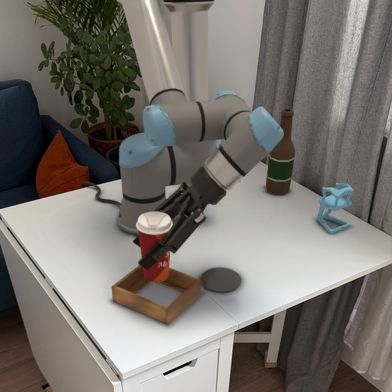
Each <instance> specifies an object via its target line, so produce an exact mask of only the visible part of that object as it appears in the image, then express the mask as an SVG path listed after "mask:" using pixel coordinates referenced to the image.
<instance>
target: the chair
mask: <svg viewBox="0 0 392 392" xmlns="http://www.w3.org/2000/svg"><path fill="white" fill-rule="evenodd" d="M341 187H342V188H341ZM339 188H340V189H339ZM354 191H355V190H354V189H353V188H352V187H351V185H350V184H348V183H345V182H344V183H343V182H342V183H338V182H336V183H335V187H334V186H333V187H332V186H331V187H323V186H322V197H321V198H318V203H319V209H318V212H317V216H316V221H317V222H318V223H319V224H320V225H321V226H322V227H323V228H324V229H325V230H326V231H327V233H329V234H331V235H333V234H335V233H337V232H340V231H342V230H346V229H347V228H350V227H351V223H350V222H349V221H346V220H344V219H340V218H337V217H334V216H332V215H330V214H331V212H332V211H333V212H338V211H340V210H342V209H345V208H349V207H351V206H352V204H353V202H352V201H350V199H351V197H352V195H353V194H354ZM326 192H328V193H330V194H331V195H328V196H327V193H326ZM346 195H347V197H346V199H345V198H344V197H345V196H346ZM324 211H325V212H324ZM324 219H325V220H327V221H331V222H334V223H337V224H340V226H337V227H335V228H331V227H330V226H329V225H328V223H327V222H326V221H325V220H324Z"/></svg>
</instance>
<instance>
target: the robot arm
mask: <svg viewBox="0 0 392 392" xmlns="http://www.w3.org/2000/svg"><path fill="white" fill-rule="evenodd" d="M162 1H163V5H164V6H165V7H166V8H167V9H168V11H169V12H170V28H171V29H170V30H171V32H170V33H171V38H170V35H169V31H168V28H167V25H166V21H165V18H164V14H163V10H162V7H161V4H160V0H116V3H117V4H118V6H119V7H120V8H121V9H122V10H123V12H124V15H125V19H126V23H127V27H128V30H129V35H130V38H131V42H132V46H133V50H134V52H135V57H136V60H137V65H138V67H139V70H140V75H141V78H142V83H143V86H144V89H145V93H146V96H147V100H148V104H149V105H147V106H145V108H143V112H142V126H143V132H141V133H140V132H139V133H136V134H132V135H130V136H128V137H127V138H125V139H124V140H123V141H122V142H121V143H120V145H119V150H118V158H119V159H118V165H119V168H120V181H121V192H122V199H121V202H120V201H117V200H114V199H110V198H103V197H100V196H99V195H100V194H101V192H102V188H101V187H100V186H99V185H97V184H95V183H93V182H90V181H87V180H86V181H82V182H81V183H80V186H82V187H83V186H84V185H89V186H91V187H93V188H95V189H96V190H97V192H96V193H95V199H96V200H98V201H100V202H104V203H112V204H115V205H118V206H119V210H118V214H117V223H118V227H119V228H120V230H122V231H123V232H125V233H127V234H130V235H134V236H136V237H135V238H134V239H133V240H132V243H133V244H135V245H136V246H138V248H140V241H139V233H138V229H137V227H136V223H137V221H138V218H139V216H140V215H142V214H144V213H147V212H155V211H156V212H162V213H165V214H167V215H169V217H170V218H171V221H172V222H173V219H175V218H176V217H177V218H176V219H175V221H174V222H173V225H172V227H171V228H170V230H169V231H168V233H167V234H166V236H165V237H164V239H163V240H162V241H161V240H159V241H158V242H157V243H156V244H155V245H154V246H153V247H152V248H151V249H150V250H149V251H148V252H147V253H146V254H145V255H144V256H143V257H141V258H140V259H139V260H138V261H137V262H138V266H139V265H141V266H142V267H144V268H145V269H147V270H149V269H150V268H151V267H152V266H153V265H154V264H155V263H156V262H157V261H158V260H159V259H160V258H161V257H162V256H163V255H164V254H165V253H166V252H168V251H170V253H171V254H173V255H174V254H176V253H177V252H178V251H179V250H180V249H181V247H182V246H183V245H184V244H185V243H186V241H188V239H189V238H190V237H191V236H192V235H193V234H194V233H195V231H196V230H197V229H198V228H199V227H200V226H202V224H203V223H205V222H206V220H207V216H205V215H204V211H205V210H206V209H207V206H208V205H212V206H217V204H219V203H220V202H221V201H222V200H223V199H224V198H225V197H226V196H227V193H228V191H231V190H232V189H233V188H235V187H236V185H238V184H239V183H241V181H242V180H243V178H244V177H246V176H247V175H248V174H249V173H250V172H251V171H252V170H253V169H255V167H256V166H258V164H259V163H260V162H261V161H262V160H263V159H264V158H266V156H267V155H269V153H270V152H271V151H272V149H273V148H274V147H275V146H276V145H277V144H278V142H279V141H280V140H281V139H282V138H283V135H284V132H283V130H282V128H281V127H280V124H279V123H278V121H276V120H275V118H273V116H272V115H271V114H270V113H269V111H268V110H266V109H265V107H263V106H258V107H256V108H255V109H254V110H253V111H252V109H251V108H250V107H249V105H248V104H247V102H246V101H245V100H244V99H243V98H241V96H239V95H238V94H237V93H235V92H234V91H232V90H222V91H219V92H217V93H216V94H214V95H213V96H212V98H211V99H210V100H209V10H210V9H211V7H213V5H214V4H215V0H162ZM222 140H224V142H223V143H222ZM188 183H191V184H192V185H191V186H189V185H188ZM172 186H178V188H177V189H176V190H175V191H174V192H173V193H171V194H170V195H169V196H168V197H166V187H172ZM167 241H168V242H167Z"/></svg>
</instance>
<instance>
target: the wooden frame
mask: <svg viewBox="0 0 392 392" xmlns="http://www.w3.org/2000/svg"><path fill="white" fill-rule="evenodd" d="M149 283H151V281H148V280H147V279H146V278H145V277H144V272H143V267H142V266H141V265H139V264H138V265H137V266H136V267H135V268H134V269H132V270H130V271H129V272H128V273H127V274H126V275H124V276H123V277H122V278H119V280H117V282H115V283H114V284H112V285H111V287H110V288H111V296H112V297H111V298H112V301H113V302H116V303H118V304H120V305H122V306H125V307H127V308H129V309H132V310H134V311H137V312H139V313H141V314H143V315H145V316H148V317H149V318H152V319H155V320H156V321H159V322H162V323H164V324H166V325H170V324H171V323H172V322H173V321H174V320H175V319H176V318H177V317H178V316H179V315H180V314H181V313H182V312H184V311H185V310H186V309H187V308H188V307H189V306H190V305H191V304H192V303H193V302H194V301H195V300H196V299H198V298H199V296H200V295H202V284H201V279H200V278H197V277H195V276H193V275H190V274H188V273H185V272H182V271H180V270H177V269H175V268H171V267H169V276H168V278H167V279H166V280H164V281H161V282H159V283H160V284H162V285H164V286H167V287H169V288H170V287H171V288H173V289H175V290H177V291H180V292H182V293H181V294H180V295H179V296H178V297H177V298H176V299H175V300H174V301H172V302H171V303H170V304H169V305H167V306H165V305H162V304H160V303H158V302H156V301H153V300H151V299H148V298H147V297H146V298H145V297H143V296H142V295H138V294H137V293H138V292H139V291H141V290H142V289H143V288H144V287H146V286H147V285H148V284H149Z"/></svg>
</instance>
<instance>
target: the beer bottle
mask: <svg viewBox="0 0 392 392" xmlns="http://www.w3.org/2000/svg"><path fill="white" fill-rule="evenodd" d="M280 115H281V118H280V123H279V126H280V127H281V128H282V130H283V132H284V135H283V138H282V139H281V140H280V141H279V142H278V144H277V145H276V146H275V147H274V148H273V149H272V151H271V152H270V153H268V163H267V170H266V179H265V189H266V192H267V193H269V194H271V195H274V196H284V195H286V194H287V193H289V192H290V188H291V183H292V178H293V170H294V162H295V155H296V150H295V145H294V142H293V141H292V130H293V119H294V118H293V117H294V116H295V112H294V109H292V108H284V109H282V110H281V112H280Z"/></svg>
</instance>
